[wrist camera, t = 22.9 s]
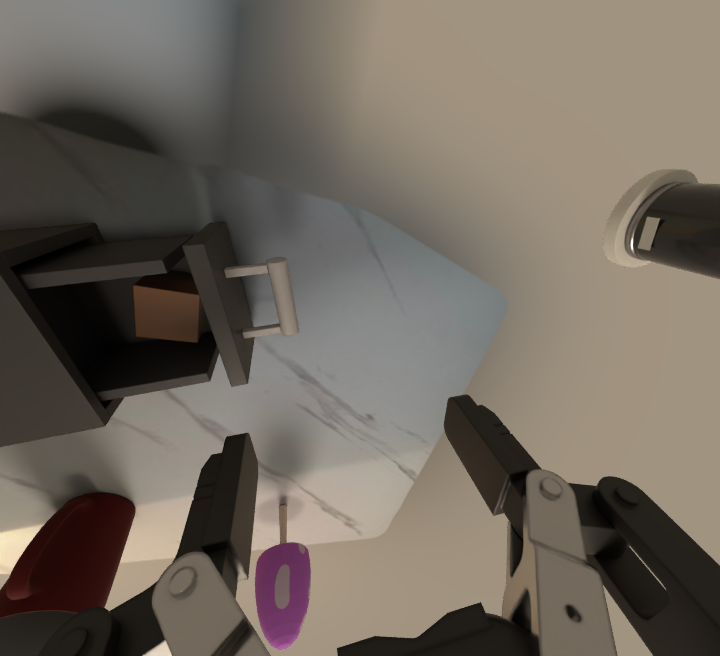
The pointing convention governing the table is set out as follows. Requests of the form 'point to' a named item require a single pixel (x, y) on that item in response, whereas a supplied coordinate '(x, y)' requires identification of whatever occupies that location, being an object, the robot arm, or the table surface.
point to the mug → (63, 571)
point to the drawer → (116, 310)
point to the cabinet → (40, 349)
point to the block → (168, 307)
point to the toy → (282, 588)
